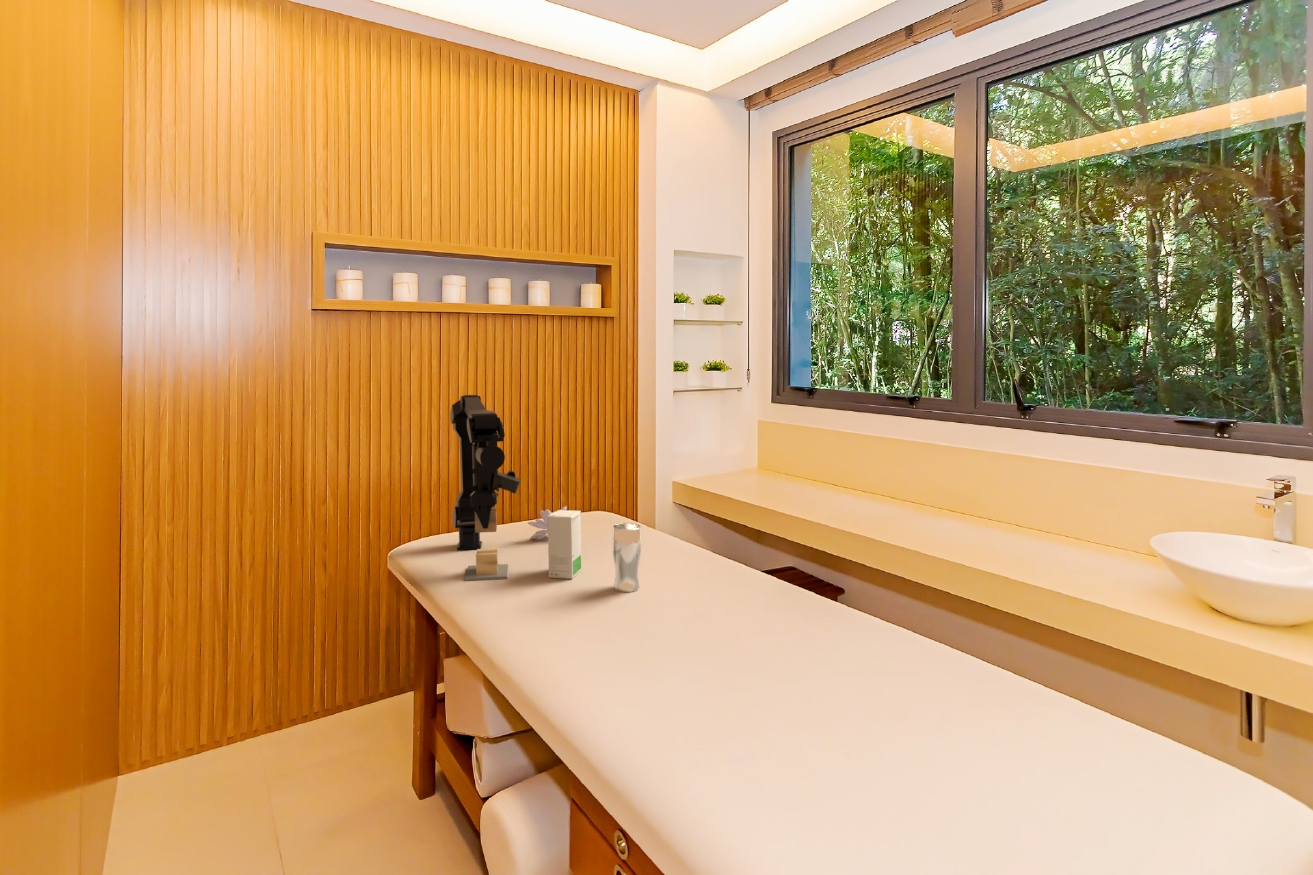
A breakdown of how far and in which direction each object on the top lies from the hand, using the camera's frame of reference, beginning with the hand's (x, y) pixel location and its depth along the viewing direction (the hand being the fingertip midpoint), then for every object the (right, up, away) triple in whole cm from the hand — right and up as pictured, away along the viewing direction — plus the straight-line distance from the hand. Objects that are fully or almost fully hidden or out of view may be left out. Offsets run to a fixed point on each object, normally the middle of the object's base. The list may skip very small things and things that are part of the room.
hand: (486, 525), depth 180 cm
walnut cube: (0, -1, 0) cm, 1 cm away
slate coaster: (0, -12, +1) cm, 12 cm away
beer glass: (+35, -14, -8) cm, 39 cm away
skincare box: (+19, -12, +2) cm, 23 cm away
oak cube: (0, -12, +1) cm, 12 cm away
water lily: (+12, -8, +33) cm, 36 cm away
